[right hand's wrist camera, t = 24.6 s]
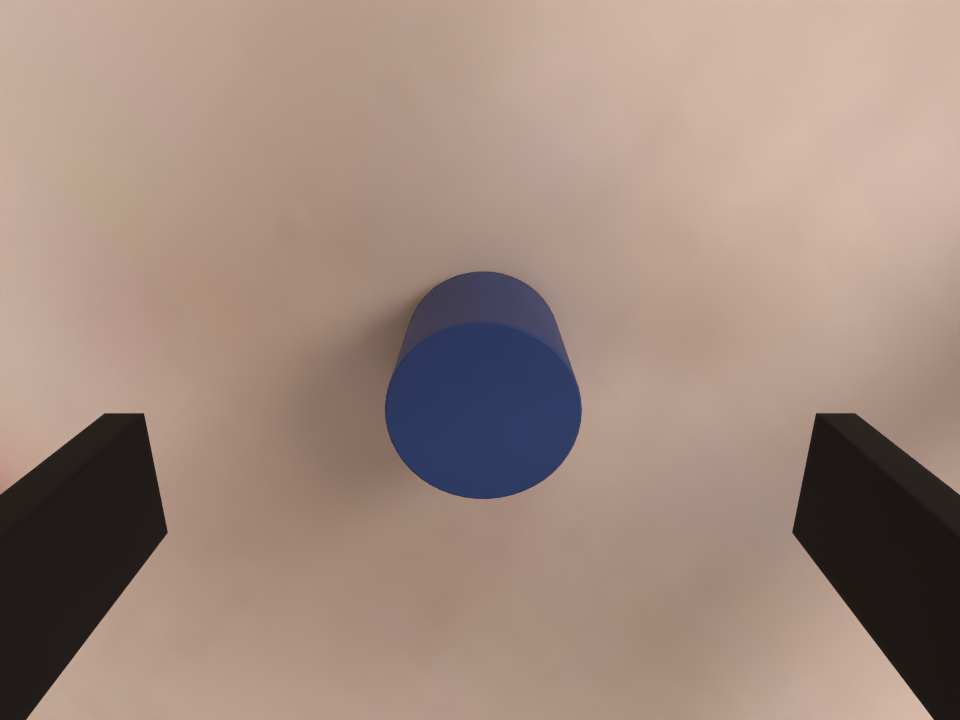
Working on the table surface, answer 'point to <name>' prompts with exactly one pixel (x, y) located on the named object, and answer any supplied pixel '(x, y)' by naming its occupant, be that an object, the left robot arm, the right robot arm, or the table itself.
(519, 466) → the cylinder
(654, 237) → the table surface
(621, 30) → the table surface
